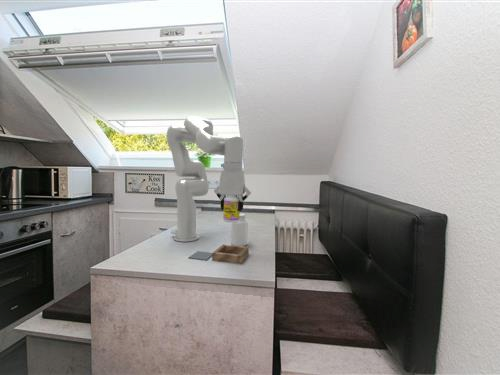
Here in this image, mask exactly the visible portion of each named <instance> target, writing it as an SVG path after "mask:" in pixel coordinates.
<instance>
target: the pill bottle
mask: <svg viewBox="0 0 500 375" xmlns="http://www.w3.org/2000/svg"><path fill="white" fill-rule="evenodd" d="M248 223H249V222H248V220H247V219H246V214H244V213H240V214H239V221H238V222H234V223H231V233H230V234H231V236H230V243H231V244H230V245H233V246H243V247H246V245H247V244H248V230H249V229H248V227H249V225H248Z"/></svg>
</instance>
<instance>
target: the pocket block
mask: <svg viewBox="0 0 500 375" xmlns="http://www.w3.org/2000/svg"><path fill="white" fill-rule="evenodd" d="M249 250H250V247H249V246H234V245H232V244H222V245H221V246H219V247H218V248H216V249H215V250H214V251H213V252H211V253H212V256H211V261H214V262H223V263H230V264H239V265H240V264H242V263H243V261H245V260H246V258H247V257H248V256H249V254H250V253H249Z"/></svg>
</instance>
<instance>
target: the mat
mask: <svg viewBox="0 0 500 375" xmlns="http://www.w3.org/2000/svg"><path fill="white" fill-rule="evenodd" d="M212 253H213V252H207V251H199V250H197V251H196V252H193V254H191V255H189V256H188V259H190V260H191V259H192V260H199V261H208V260H210V259H211V258H212Z"/></svg>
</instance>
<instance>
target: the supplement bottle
mask: <svg viewBox="0 0 500 375" xmlns="http://www.w3.org/2000/svg"><path fill="white" fill-rule="evenodd" d="M239 202H240V200H239V197H238V195H226V197H225V198H224V210H223V221H224V222H225V223H231V224H232V223H234V222H238V221H239V214H241V213H240V212H241V211H238V203H239Z"/></svg>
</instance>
